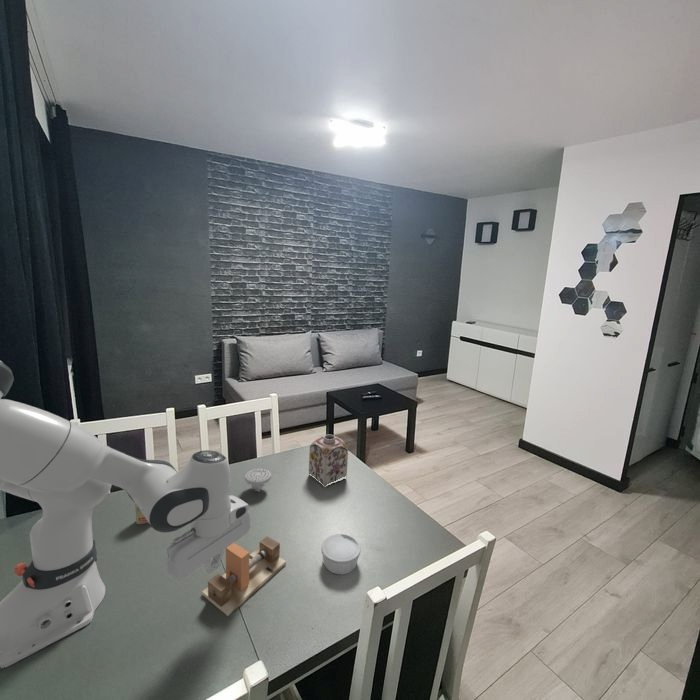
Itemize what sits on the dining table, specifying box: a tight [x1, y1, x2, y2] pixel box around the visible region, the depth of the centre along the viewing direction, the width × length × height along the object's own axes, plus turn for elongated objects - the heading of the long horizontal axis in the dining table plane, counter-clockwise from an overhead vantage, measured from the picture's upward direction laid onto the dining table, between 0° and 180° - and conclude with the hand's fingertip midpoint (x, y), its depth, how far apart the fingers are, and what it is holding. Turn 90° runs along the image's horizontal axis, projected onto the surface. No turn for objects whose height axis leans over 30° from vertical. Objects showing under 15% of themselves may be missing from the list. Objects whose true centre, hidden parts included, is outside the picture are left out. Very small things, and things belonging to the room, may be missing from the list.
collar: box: [225, 542, 250, 591], centre depth 94 cm, size 2×6×10 cm, turn 57°
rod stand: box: [201, 535, 287, 617], centre depth 97 cm, size 20×10×6 cm, turn 147°
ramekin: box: [321, 533, 362, 575], centre depth 104 cm, size 11×11×5 cm
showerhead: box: [244, 468, 272, 493], centre depth 136 cm, size 9×7×10 cm
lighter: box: [134, 503, 149, 525], centre depth 116 cm, size 7×4×10 cm, turn 109°
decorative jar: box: [308, 434, 349, 486], centre depth 147 cm, size 12×12×18 cm
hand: (212, 568), depth 86 cm, fingers closed
